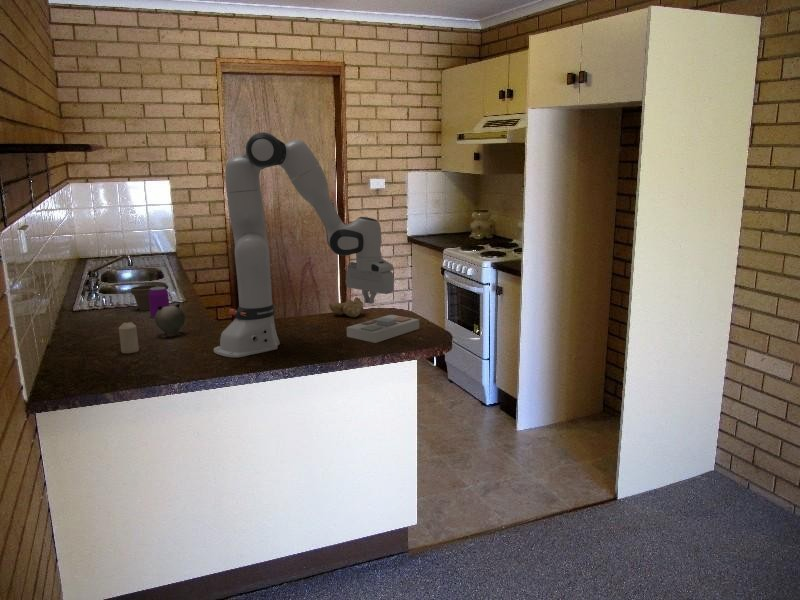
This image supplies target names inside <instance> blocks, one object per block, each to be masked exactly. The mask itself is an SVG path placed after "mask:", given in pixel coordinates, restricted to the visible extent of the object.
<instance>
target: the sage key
mask: <svg viewBox="0 0 800 600" xmlns="http://www.w3.org/2000/svg"><path fill="white" fill-rule="evenodd" d="M379 329H382V328H381V327H378V326H372V325H370V326H367V327H364V328H362V330H366V331H371V332H373V331H376V330H379Z"/></svg>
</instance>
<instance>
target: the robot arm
mask: <svg viewBox="0 0 800 600" xmlns="http://www.w3.org/2000/svg"><path fill="white" fill-rule="evenodd" d="M274 166H280V167H281V168H282V169H283V170H284V172H285V174H286V175H287V176H288V178H289V180H290V182H291V184H292V185H293V187H294V189H295V190H296V191H297V192H298V194H299V195H300V197H302V198H303V199H304V200H305V201H306V202H307V203H309V204H310V205H311V206H312V208H313V209H314V210H315V212H316V214H317V216H318V217H319V219H320V221H321V223H322V225H323V227H324V229H325V232H326V241H327V244H328V246H329V248H330V249H331V251H332V252H333V253H334V254H336V255H338V256H341V257H346V256H351V255H354V254H355V261H356V262H354V261H350V262H349V263H348V264H347V270H346V275H345V286H346V287H347V288H349V289H354V290H360V291H361V293H362V296H363V298H364V303H365V304H369V305H373V304H374V303H375V297H376V296H377V294H384V295H389V294H391V293H393V292H394V290H395V277H394V274H393V272H392V271H393V270H394V265H393V264H392V263H390V262H389V261H386V260H385V259H383V256H382V255H383V254H382V251H381V247H382V228H381V223H380V222H379V221H378V220H377V219H375V218H372V217H368V216H367V217H366V216H359V217H357V218H356V219H355V220H354V221H352V222H349V223H348V224H346V223H344V221H343V220H342V219H341V217H340V215H339V214H338V212H337V209H336V208H335V206H334V204H333V203H332V200H331V197H330V194H329V192H330V191H329V184H328V180H327V177H326V174H325V172H324V170H323V168H322V166H321V165H320V162H319V161H318V159H317V157H316V156H315V155H314V152H313V151H312V150H311V149H310V148H309V146H308V145H307V143H306V142H304V141H303V140H301V139H293V140H289V141H288V142H283V141H281V140H280V139H278V138H277V137H276V136H274V135H273V134H272V133H269V132H258V133H254V134H252V136H250V138H248V140H247V142H246V145H245V153H244V154H242V155H237V156H233V157H231V158H230V159H228V160H227V162H226V164H225V173H224V174H225V176H224V177H225V179H224V180H225V190H226V199H227V206H228V211H229V218H230V224H231V229H232V235H233V241H234V260H235V262H234V263H235V270H236V280H237V281H236V282H237V293H238V307H237V309H236V308H230V309H229V315H233V316H235V318H234V319H233V320H232V322H230V323H229V325H228V326H227V327H226V328H225V329H224V330H223V331H221V335H220V339H219V345H218V346H214V348H213V353H215V354H217V355H218V356H219V355H220V356H223V357H227V358H242V357H247V356H250V355H256V354H260V353H266V352H270V351H274V350H278V346H279V345H281V344H280V340H279V337H278V333H277V330H276V324H275V318H274V317H275V304H274V303H273V294H272V279H271V262H270V257H271V256H270V247H269V243H268V236H267V229H266V219H265V211H264V204H263V203H264V202H263V196H262V190H261V181H260V173H261V171H262V170H264V169H266V168H271V167H274Z"/></svg>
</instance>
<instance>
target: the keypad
mask: <svg viewBox="0 0 800 600" xmlns="http://www.w3.org/2000/svg"><path fill="white" fill-rule="evenodd" d="M397 317H403V316H400V315H395V314H388V315H385V316H381V317H378V318H374V319H370V320H367V321H364V322H360V323H357V324H353V325H350V326H346V337H347V338H351V339H355V340H360V341H364V342H369V343H373V344H377V343H379V342H382V341H385V340H389V339H392V338H395V337H398V336H401V335H405V334H407V333H410V332H413V331H417V330H420V319H418V318H413V317H406V316H404V317H405V318H410V320H408V321H405V322H396V324H395V325H392V326H389V327H385V326H380V325H377V320H379V319H383V318H391V319H394V318H397ZM370 325H372V326H378V327H381V328H382V329H379V330H376V331H373V332H371V331H366V330H362V328H364V327H367V326H370Z"/></svg>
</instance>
